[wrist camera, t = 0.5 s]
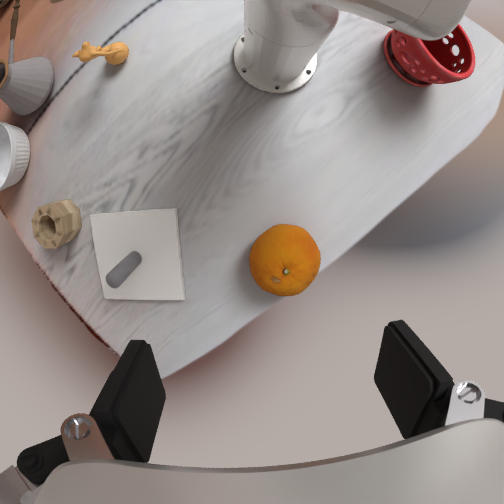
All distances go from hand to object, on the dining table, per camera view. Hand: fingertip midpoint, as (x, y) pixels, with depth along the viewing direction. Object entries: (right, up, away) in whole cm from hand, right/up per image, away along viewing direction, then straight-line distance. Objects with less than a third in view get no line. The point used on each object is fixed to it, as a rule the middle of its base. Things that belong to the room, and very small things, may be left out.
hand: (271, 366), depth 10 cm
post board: (-20, +4, +35) cm, 40 cm away
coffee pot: (-39, +39, +23) cm, 60 cm away
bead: (-34, +10, +32) cm, 48 cm away
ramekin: (-47, +23, +28) cm, 59 cm away
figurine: (-22, +35, +25) cm, 48 cm away
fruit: (+4, +4, +36) cm, 36 cm away
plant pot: (+27, +38, +25) cm, 53 cm away
